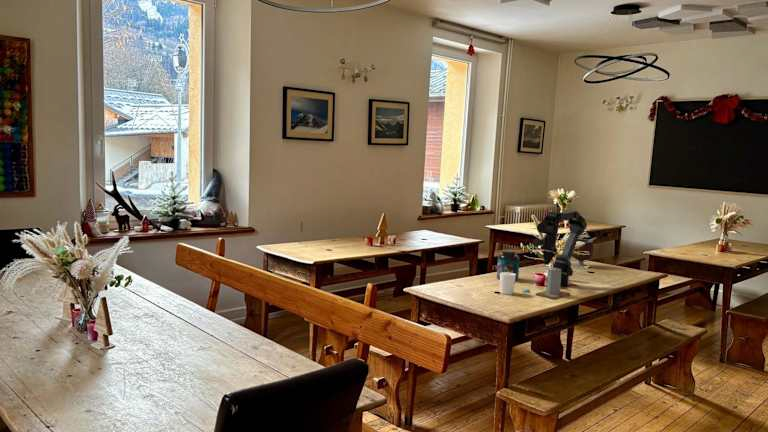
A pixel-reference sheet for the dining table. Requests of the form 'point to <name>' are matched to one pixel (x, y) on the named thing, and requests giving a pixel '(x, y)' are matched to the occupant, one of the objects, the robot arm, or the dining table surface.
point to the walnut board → (551, 296)
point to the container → (508, 263)
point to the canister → (553, 281)
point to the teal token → (526, 290)
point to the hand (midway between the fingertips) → (546, 264)
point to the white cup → (507, 283)
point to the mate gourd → (586, 247)
